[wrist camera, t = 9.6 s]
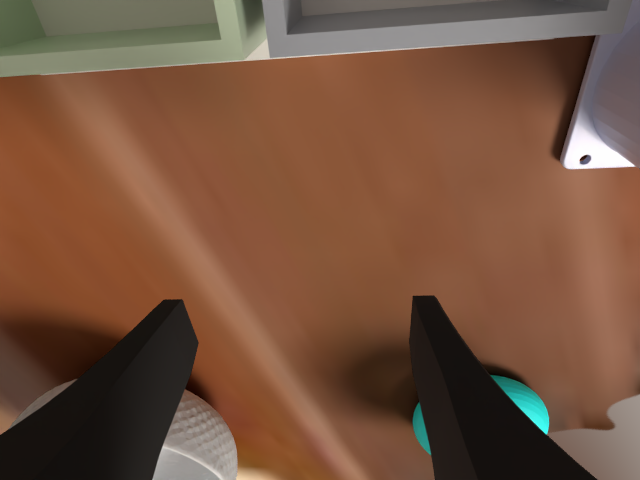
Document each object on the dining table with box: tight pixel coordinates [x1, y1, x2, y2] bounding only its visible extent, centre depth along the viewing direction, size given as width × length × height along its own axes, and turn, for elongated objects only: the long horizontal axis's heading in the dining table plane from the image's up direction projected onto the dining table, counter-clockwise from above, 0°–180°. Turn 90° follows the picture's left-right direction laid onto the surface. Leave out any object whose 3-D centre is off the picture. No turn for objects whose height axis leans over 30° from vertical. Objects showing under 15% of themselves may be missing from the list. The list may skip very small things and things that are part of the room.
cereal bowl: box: [9, 379, 237, 480], centre depth 32 cm, size 17×17×7 cm
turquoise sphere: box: [413, 375, 549, 455], centre depth 28 cm, size 10×10×10 cm
